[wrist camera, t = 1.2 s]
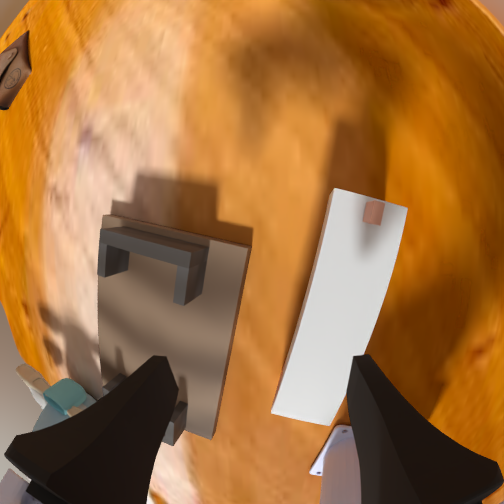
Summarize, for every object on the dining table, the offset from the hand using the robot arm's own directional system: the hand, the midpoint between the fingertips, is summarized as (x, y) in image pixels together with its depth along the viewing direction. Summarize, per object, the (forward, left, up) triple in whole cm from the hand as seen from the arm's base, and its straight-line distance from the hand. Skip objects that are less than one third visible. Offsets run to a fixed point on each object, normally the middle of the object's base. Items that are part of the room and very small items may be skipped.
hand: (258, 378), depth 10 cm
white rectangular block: (-3, -1, -11) cm, 11 cm away
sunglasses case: (+50, -25, -11) cm, 57 cm away
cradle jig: (+10, +6, -10) cm, 16 cm away
